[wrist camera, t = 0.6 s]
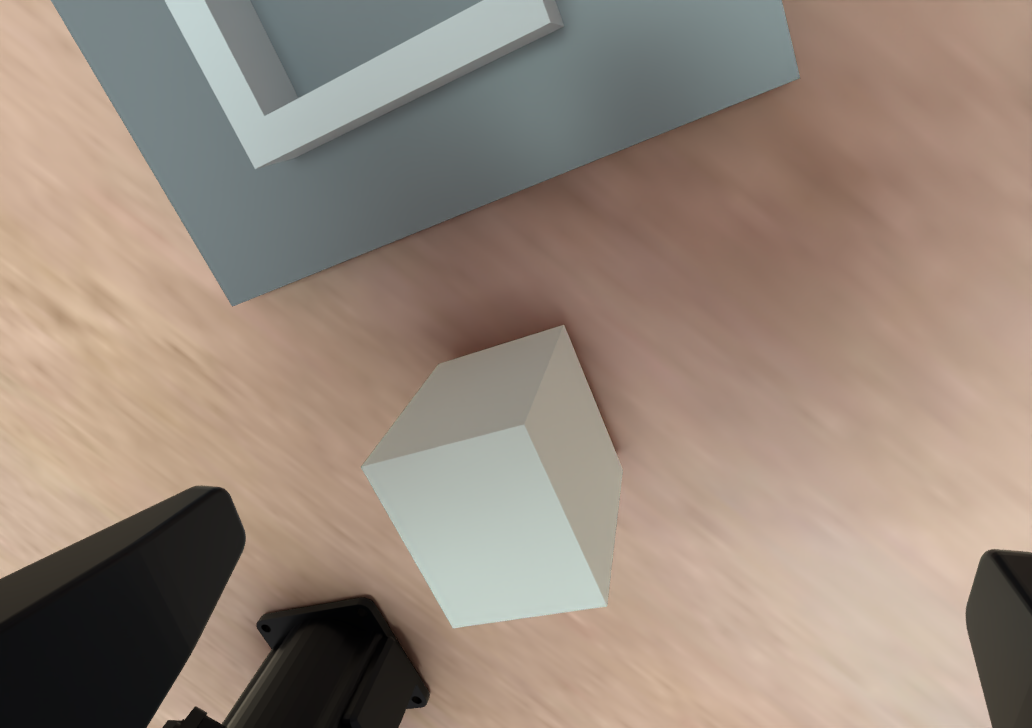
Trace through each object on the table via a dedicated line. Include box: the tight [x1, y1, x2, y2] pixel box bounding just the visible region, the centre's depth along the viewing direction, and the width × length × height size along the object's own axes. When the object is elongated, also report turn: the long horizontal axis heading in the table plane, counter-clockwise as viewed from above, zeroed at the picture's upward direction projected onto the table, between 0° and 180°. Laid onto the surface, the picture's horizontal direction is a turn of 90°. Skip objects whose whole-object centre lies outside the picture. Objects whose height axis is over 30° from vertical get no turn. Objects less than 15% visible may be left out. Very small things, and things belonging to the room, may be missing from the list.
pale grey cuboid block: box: [361, 325, 623, 628], centre depth 19 cm, size 4×6×7 cm
